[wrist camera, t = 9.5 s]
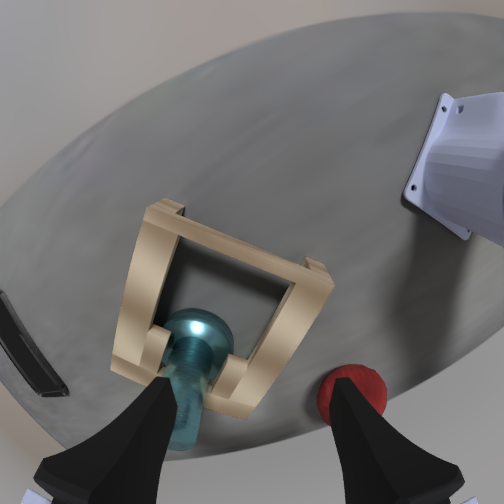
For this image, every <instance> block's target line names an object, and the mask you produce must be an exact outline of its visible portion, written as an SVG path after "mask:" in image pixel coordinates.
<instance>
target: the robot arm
mask: <svg viewBox="0 0 504 504" xmlns="http://www.w3.org/2000/svg"><path fill="white" fill-rule="evenodd" d="M442 107H443V108H444V112H443V111H442ZM412 185H414V190H413V191H412V190H411V186H412ZM403 194H404V198H405V199H406V200H408V201H409V202H411V203H412V204H414V205H415V206H417V207H418V208H420V209H421V210H423V211H424V212H426V213H427V214H429V215H430V216H431V217H433V218H434V219H436V220H437V221H439V222H440V223H441V224H443V225H444V226H445V227H447V228H448V229H450V230H451V231H452V232H454V233H455V234H456V235H458V236H459V237H460V238H461V239H463V240H468V239H469V237H470V235H471V233H472V232H474V233H476V234H478V235H480V236H482V237H484V238H486V239H488V240H490V241H492V242H494V243H496V244H498V245H500V246H502V247H504V92H497V93H490V94H483V95H476V96H470V97H464V98H458V99H453V98H452V97H451V96H450V95H448V94H447V93H444V94H442V95H441V96H440V99H439V102H438V105H437V108H436V111H435V114H434V117H433V120H432V123H431V126H430V128H429V131H428V134H427V136H426V139H425V142H424V144H423V147H422V149H421V152H420V154H419V157H418V159H417V162H416V164H415V167H414V169H413V171H412V174H411V176H410V178H409V181H408V183H407V185H406V187H405V189H404V193H403ZM467 229H468V231H467ZM177 408H178V405H177V402H176V399H175V395H174V392H173V389H172V385H171V381H170V378H169V377H159V376H156V377H155V378H154V379H153V380H152V382H151V383H150V384H149V385H148V386H147V387H146V388H145V389H144V391H143V392H142V393H141V394H140V395H139V396H138V397H137V398H136V399H135V400H134V401H133V402H132V403H131V404H130V405H129V406H128V407H127V408H126V409H125V410H124V411H123V412H122V413H121V414H120V415H119V416H118V417H117V418H116V419H115V420H113V421H112V422H111V423H110V424H109V425H107V426H106V427H105V428H103V429H102V430H101V431H99V432H98V433H96V434H95V435H93V436H92V437H90V438H89V439H87V440H85V441H84V442H82V443H80V444H78V445H76V446H74V447H72V448H70V449H68V450H66V451H64V452H61V453H58V454H56V455H53V456H50V457H46V458H44V459H43V460H42V462H41V464H40V466H39V468H38V469H37V471H36V474H35V475H34V477H33V478H34V481H35V482H36V483H37V484H38V485H39V486H40V487H41V488H43V489H44V490H45V491H46V492H48V493H49V494H50V495H51V496H53V497H54V498H53V500H52V501H50V500H49V499H47V498H45V497H43V496H42V495H40V494H38V493H36V492H35V491H33V490H31V489H30V488H28V489H27V491H26V493H25V495H24V498H23V500H22V502H21V504H156V498H157V491H158V484H159V478H160V472H161V468H162V463H163V460H164V457H165V454H166V451H167V448H168V445H169V442H170V438H171V435H172V432H173V429H174V425H175V420H176V414H177ZM329 415H330V423H331V428H332V432H333V436H334V440H335V444H336V447H337V451H338V455H339V459H340V463H341V467H342V472H343V480H344V489H345V500H346V504H450V503H451V502H450V500H449V497H450V496H452V495H453V494H454V493H455V492H456V491H458V490H459V489H460V488H461V487H462V486H463V484H464V483H465V481H464V478H463V476H462V473H461V471H460V469H459V467H458V466H457V465H454V464H452V463H449V462H447V461H444V460H442V459H440V458H437V457H436V456H434V455H432V454H430V453H428V452H426V451H425V450H423V449H421V448H420V447H418V446H417V445H415V444H414V443H412V442H411V441H409V440H408V439H407V438H405V437H404V436H403V435H402V434H400V433H399V432H398V431H397V430H396V429H395V428H393V427H392V426H391V425H390V424H389V423H388V422H387V421H386V420H385V419H384V418H383V417H382V416H381V415H380V414H379V413H378V412H377V410H376V409H375V408H374V407H373V406H372V405H371V404H370V402H369V401H368V400H367V399H366V398H365V396H364V395H363V394H362V393H361V391H360V390H359V389H358V388H357V386H356V385H355V384H354V382H353V381H352V380H351V378H350V377H342V378H335V382H334V387H333V391H332V395H331V399H330V403H329ZM461 504H478V501H477V498H476V497H472V498H471V499H469V500H467V501H465V502H463V503H461Z"/></svg>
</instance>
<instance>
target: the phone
mask: <svg viewBox="0 0 504 504" xmlns="http://www.w3.org/2000/svg"><path fill="white" fill-rule="evenodd" d="M0 345H1V346H2V348H3V349H4V351H5V352H6V354H7V355H8V357H9V358H10V360H11V361H12V362H13V364H14V365H15V367H16V368H17V369H18V371H19V372H20V373H21V375H22V376H23V377H24V379H25V380H26V381H27V383H28V384H29V385H30V386H31V388H32V389H33V390H34V391H35V392H36V393H37V394H38V395H39V396H41V397H58V396H65V395H66V394H67V392H68V388H67V386H66V385H65V383H64V382H63V381H62V380H61V378H60V377H59V376H58V375H57V373H56V372H55V371H54V369H53V368H52V367H51V365H50V364H49V363H48V361H47V360H46V358H45V357H44V356H43V354H42V353H41V351H40V350H39V349H38V347H37V346H36V344H35V343H34V341H33V340H32V338H31V336H30V335H29V333H28V332H27V330H26V329H25V327H24V325H23V324H22V322H21V320H20V319H19V317H18V315H17V314H16V312H15V310H14V308H13V306H12V305H11V303H10V301H9V299H8V297H7V295H6V294H5V292H4V291H3V290H1V289H0Z"/></svg>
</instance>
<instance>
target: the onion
mask: <svg viewBox="0 0 504 504" xmlns="http://www.w3.org/2000/svg"><path fill="white" fill-rule="evenodd" d="M342 377H350V378H351V380H352V381H353V382H354V384H355V385H356V386H357V388H358V389H359V390H360V391H361V393H362V394H363V395H364V396H365V398H366V399H367V400H368V401H369V402H370V404H371V405H372V406H373V407H374V408H375V409H376V410H377V412H378V413H379V414H380V415H381V416H382V414H383V412H384V410H385V408H386V403H387V389H386V385H385V382H384V381H383V380H382V378H381V377H380V376H379V374H378V373H377V372H376V371H375V370H373V369H370V368H367V367H365V366H363V365H357V364H348V365H344V366H341V367H339V368H337V369H336V370H334V371H333V372H331V373H330V374H329V375H328V376H327V377H326V378H325V379H324V380H323V382H322V384H321V386H320V389H319V392H318V394H317V406H318V409H319V412H320V414H321V417H322V419H323V420H324V421H325V423H326V424H328V425H329V426H331V423H330V415H329V403H330V399H331V395H332V391H333V387H334V382H335V378H342Z"/></svg>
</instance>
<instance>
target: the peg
mask: <svg viewBox="0 0 504 504" xmlns="http://www.w3.org/2000/svg"><path fill="white" fill-rule="evenodd" d="M162 328H164V329H166V330H169V331H171V335H170V338H169V341H168V343H167V346H166V349H165V352H164V355H163V359H162V362H163V363H164V364H165V368H164V370H163V373H162V375H161V377H169V378H170V381H171V385H172V389H173V392H174V395H175V399H176V402H177V405H178V408H177V414H176V420H175V425H174V429H173V432H172V435H171V438H170V442H169V445H168V448H167V449H169V450H175V451H185V450H189V449H192V448H193V447H194V446H195V444H196V439H197V434H198V429H199V424H200V419H201V415H202V410H203V405H204V400H205V395H206V390H207V386H208V381H209V379H213V378H216V377H217V375H218V373H219V371H220V369H221V367H222V365H223V363H224V361H225V360H226V358H227V356H228V354H231V355H232V353H233V345H234V339H233V335H232V332H231V330H230V328H229V327H228V325H227V324H226V323H225V322H224V321H223V320H222V319H221V318H220V317H218V316H216V315H215V314H213V313H211V312H208V311H206V310H202V309H195V308H189V309H183V310H179V311H177V312H175V313H173V314H172V315H171V316H170V317H169V318H168V319H167V320H166V322H165V323H164V325H163V327H162Z"/></svg>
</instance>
